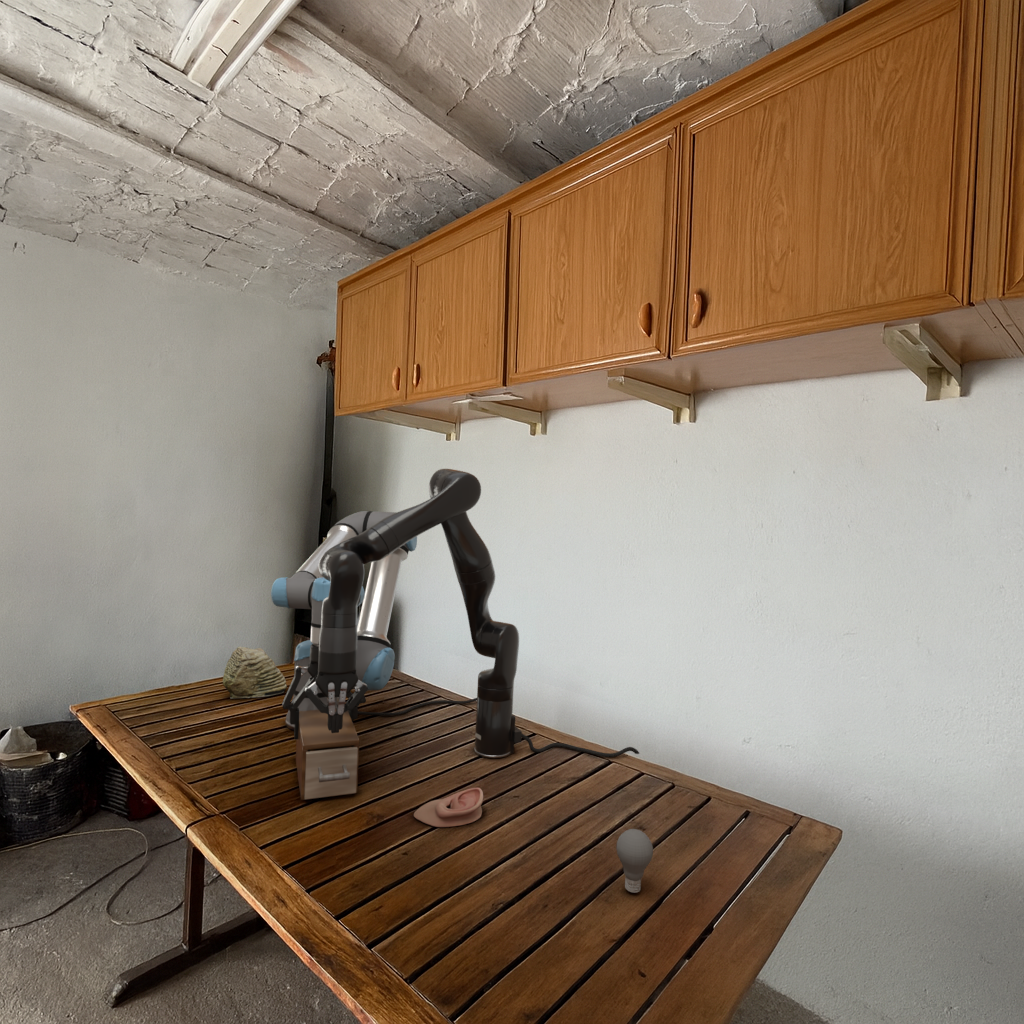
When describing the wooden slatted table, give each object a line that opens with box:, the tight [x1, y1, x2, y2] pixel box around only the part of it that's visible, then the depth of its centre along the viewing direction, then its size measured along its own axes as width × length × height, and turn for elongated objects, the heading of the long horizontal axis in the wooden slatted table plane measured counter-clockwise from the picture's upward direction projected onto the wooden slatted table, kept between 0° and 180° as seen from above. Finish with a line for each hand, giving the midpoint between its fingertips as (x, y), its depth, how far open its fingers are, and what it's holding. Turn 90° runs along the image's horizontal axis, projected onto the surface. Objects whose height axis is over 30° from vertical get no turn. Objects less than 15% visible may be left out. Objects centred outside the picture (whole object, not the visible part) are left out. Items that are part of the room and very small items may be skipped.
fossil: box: [222, 646, 288, 699], centre depth 198 cm, size 9×18×15 cm, turn 132°
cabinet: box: [295, 708, 360, 801], centre depth 144 cm, size 22×12×12 cm, turn 22°
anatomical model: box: [413, 787, 484, 828], centre depth 129 cm, size 13×4×12 cm
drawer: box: [304, 746, 358, 800], centre depth 139 cm, size 26×10×10 cm, turn 22°
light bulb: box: [615, 828, 654, 894], centre depth 106 cm, size 6×6×10 cm
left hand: (323, 735), depth 150 cm, fingers closed on cabinet, 11 cm apart
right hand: (334, 731), depth 129 cm, fingers closed
